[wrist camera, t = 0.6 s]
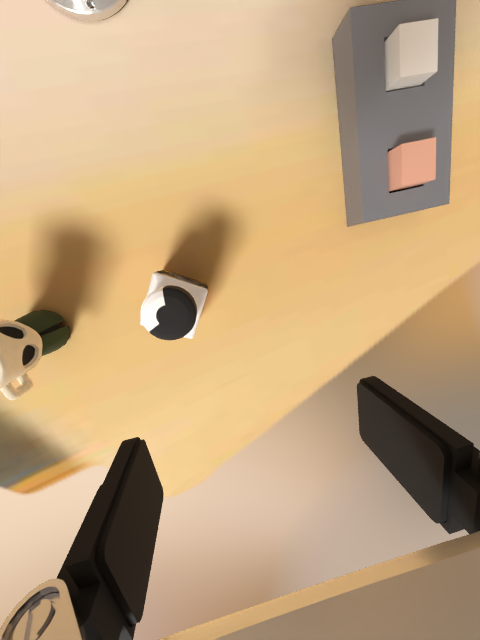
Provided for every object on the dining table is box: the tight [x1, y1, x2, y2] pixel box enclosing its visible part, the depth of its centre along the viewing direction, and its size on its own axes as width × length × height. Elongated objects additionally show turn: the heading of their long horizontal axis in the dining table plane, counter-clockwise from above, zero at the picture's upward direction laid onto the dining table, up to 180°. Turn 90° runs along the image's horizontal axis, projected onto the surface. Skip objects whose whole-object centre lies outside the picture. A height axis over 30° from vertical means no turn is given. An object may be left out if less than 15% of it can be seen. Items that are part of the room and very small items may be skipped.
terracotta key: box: [388, 137, 436, 192], centre depth 32 cm, size 5×5×3 cm
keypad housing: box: [332, 0, 456, 227], centre depth 33 cm, size 24×14×4 cm, turn 12°
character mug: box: [0, 310, 69, 400], centre depth 29 cm, size 11×7×13 cm, turn 21°
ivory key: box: [384, 18, 438, 92], centre depth 29 cm, size 5×5×3 cm
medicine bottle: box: [140, 270, 208, 340], centre depth 31 cm, size 7×7×12 cm
